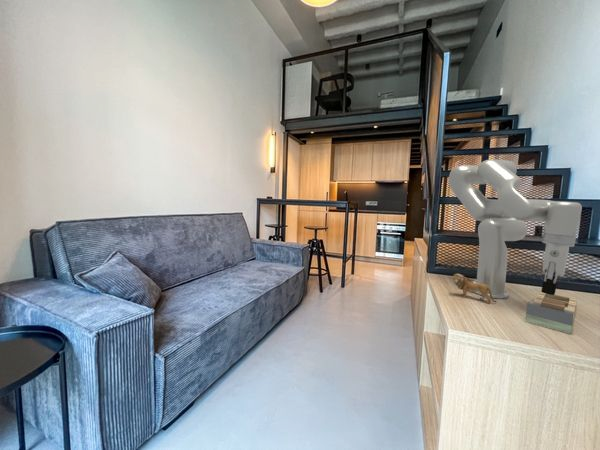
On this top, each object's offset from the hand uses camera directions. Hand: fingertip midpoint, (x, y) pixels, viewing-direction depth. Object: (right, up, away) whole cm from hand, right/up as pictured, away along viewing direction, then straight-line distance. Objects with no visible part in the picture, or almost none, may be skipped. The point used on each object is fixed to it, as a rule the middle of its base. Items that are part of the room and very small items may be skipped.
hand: (547, 293), depth 86 cm
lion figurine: (-16, -6, +15) cm, 22 cm away
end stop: (-8, -6, -8) cm, 13 cm away
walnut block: (-5, -6, -7) cm, 10 cm away
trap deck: (+4, -8, +2) cm, 9 cm away
